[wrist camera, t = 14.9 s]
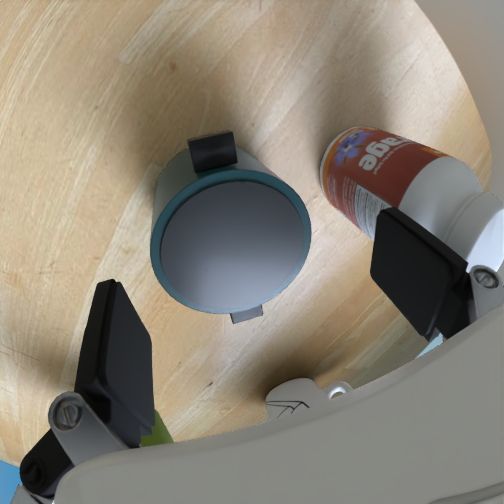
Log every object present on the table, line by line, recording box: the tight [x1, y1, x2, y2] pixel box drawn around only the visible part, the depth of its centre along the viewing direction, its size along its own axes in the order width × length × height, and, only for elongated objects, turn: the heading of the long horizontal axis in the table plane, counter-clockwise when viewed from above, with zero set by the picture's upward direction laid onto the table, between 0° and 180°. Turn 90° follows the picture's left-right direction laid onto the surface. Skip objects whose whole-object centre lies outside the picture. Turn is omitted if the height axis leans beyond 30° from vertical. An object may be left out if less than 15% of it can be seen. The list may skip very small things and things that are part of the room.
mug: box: [266, 378, 354, 421], centre depth 27 cm, size 12×8×10 cm
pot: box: [150, 130, 311, 324], centre depth 14 cm, size 7×9×6 cm
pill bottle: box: [320, 126, 504, 273], centre depth 13 cm, size 6×6×11 cm
